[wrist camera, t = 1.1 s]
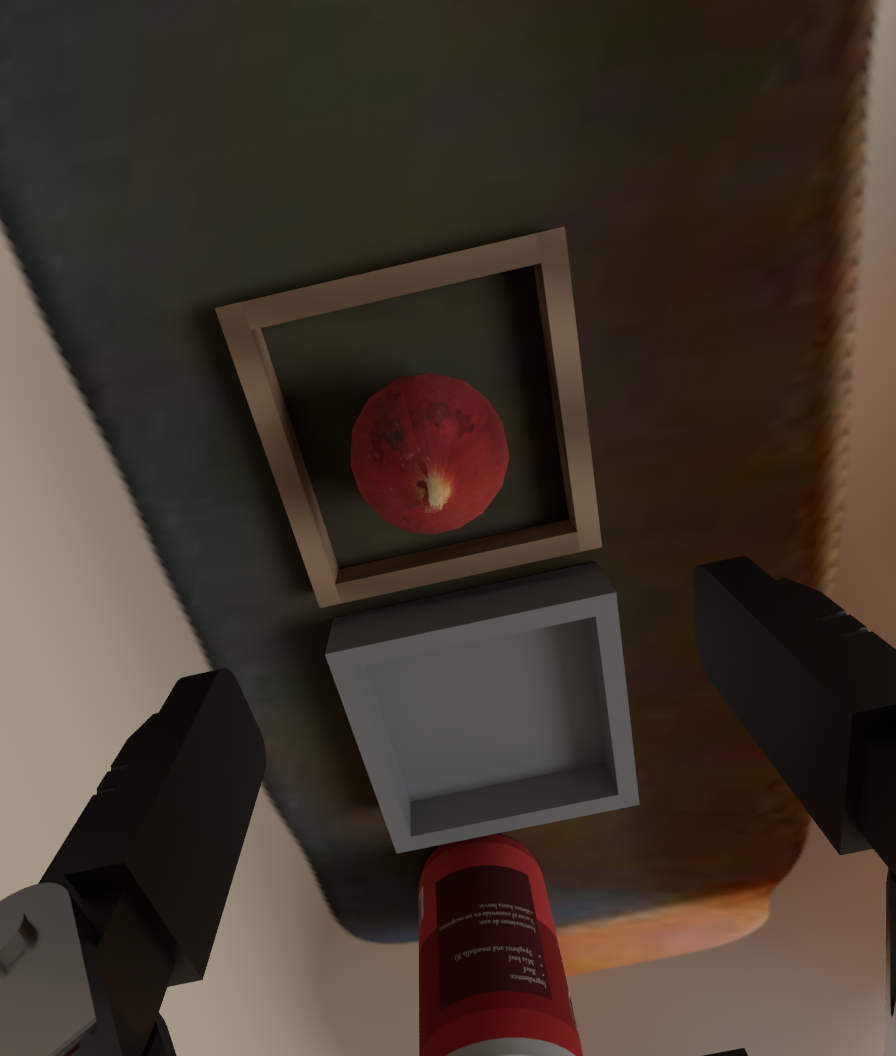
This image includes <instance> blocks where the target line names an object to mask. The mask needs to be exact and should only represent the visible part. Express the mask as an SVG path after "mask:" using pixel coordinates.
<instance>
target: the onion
mask: <svg viewBox="0 0 896 1056" xmlns="http://www.w3.org/2000/svg"><path fill="white" fill-rule="evenodd" d="M508 461H509V452H508V447H507V442H506V437H505V432H504V427H503V422H502V421H501V419H500V418H499V416H498V415H497V413H496V411H495V410H494V408H493V407H492V405H491V404H490V402H489V401H488V399H487V398H486V397H484V396H483V395H482V394H480V393H479V392H478V391H477V390H475V389H474V388H473V387H471V386H470V385H469V384H468V383H466V382H465V381H463V380H459V379H455V378H451V377H447V376H443V375H439V374H435V373H427V374H419V375H412V376H405V377H399V378H397V379H396V380H394V381H393V382H391V383H390V384H388V385H387V386H386V387H384V388H383V389H381V390H380V391H378V392H377V393H376V394H374V395H373V396H371V397H370V398H369V399H368V400H367V402H366V404H365V406H364V408H363V410H362V411H361V413H360V415H359V417H358V419H357V420H356V422H355V424H354V426H353V429H352V443H351V463H350V465H351V468H352V471H353V474H354V477H355V480H356V482H357V485H358V488H359V491H360V493H361V495H362V497H363V498H364V499H365V500H366V501H367V502H368V503H369V505H370V506H371V507H372V508H373V509H374V510H375V511H376V512H377V513H378V514H379V515H380V517H381V518H383V519H385V520H386V521H388V522H390V523H392V524H393V525H395V526H397V527H398V528H400V529H402V530H404V531H405V532H413V533H425V534H437V533H441V532H445V531H449V530H453V529H457V528H460V527H462V526H463V525H465V524H466V523H468V522H469V521H471V520H473V519H474V518H476V517H477V516H479V515H480V514H482V513H483V512H484V511H485V509H486V508H487V506H488V505H489V504H490V502H491V501H492V500H493V498H494V497H495V496H496V494H497V493H498V492H499V490H500V489H501V487H502V485H503V481H504V477H505V473H506V469H507V465H508Z"/></svg>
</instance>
